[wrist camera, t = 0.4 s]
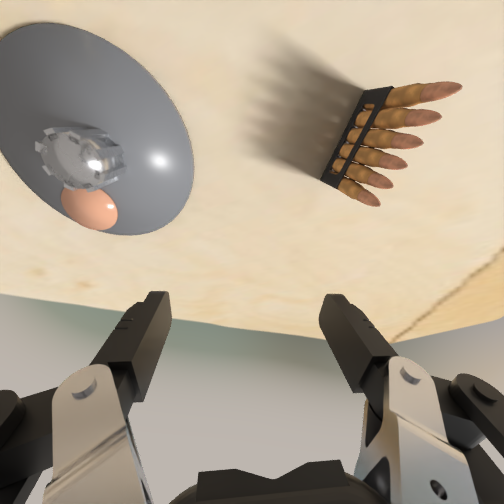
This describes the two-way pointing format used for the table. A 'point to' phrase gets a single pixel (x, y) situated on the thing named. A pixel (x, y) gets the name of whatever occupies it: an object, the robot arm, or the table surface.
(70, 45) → the carrier plate
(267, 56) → the table surface
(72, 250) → the table surface
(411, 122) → the ammunition clip
